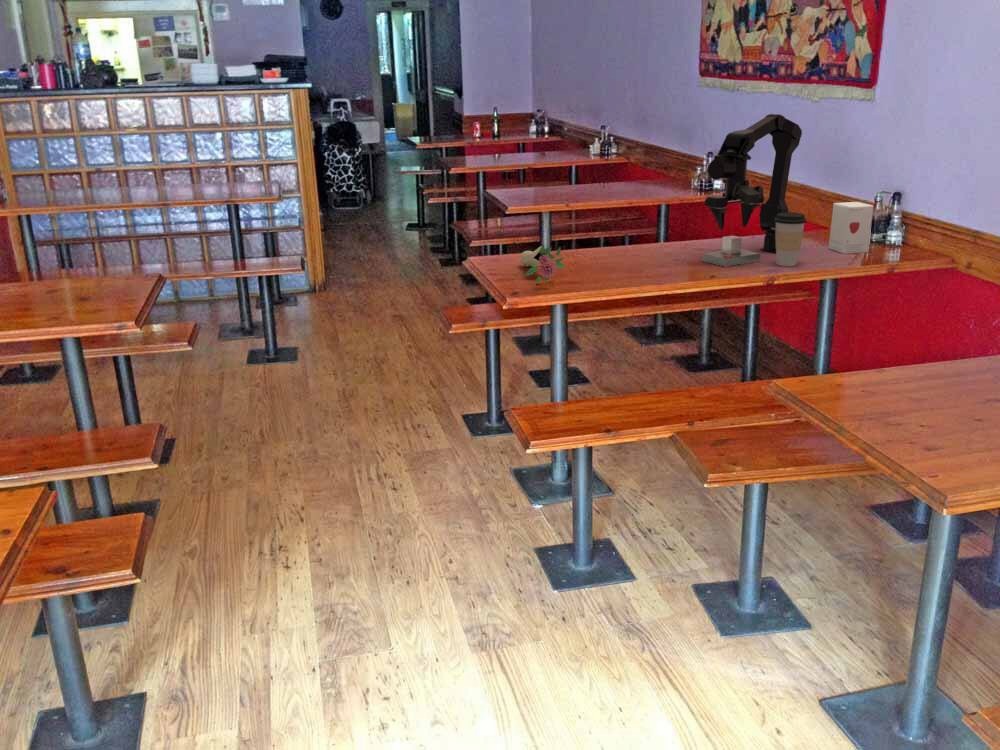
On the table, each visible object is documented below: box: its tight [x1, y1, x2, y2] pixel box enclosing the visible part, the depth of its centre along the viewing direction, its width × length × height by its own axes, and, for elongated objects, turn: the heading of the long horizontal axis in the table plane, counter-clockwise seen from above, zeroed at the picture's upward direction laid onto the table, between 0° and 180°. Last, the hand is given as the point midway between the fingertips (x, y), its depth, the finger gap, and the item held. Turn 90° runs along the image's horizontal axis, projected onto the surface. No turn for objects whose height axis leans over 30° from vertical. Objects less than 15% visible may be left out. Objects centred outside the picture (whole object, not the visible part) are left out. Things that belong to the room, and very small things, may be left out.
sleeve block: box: [701, 248, 761, 267], centre depth 286 cm, size 14×10×3 cm
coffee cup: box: [774, 212, 808, 267], centre depth 279 cm, size 9×9×15 cm
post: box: [721, 235, 743, 255], centre depth 285 cm, size 4×4×7 cm
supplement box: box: [828, 201, 874, 255], centre depth 296 cm, size 9×9×15 cm
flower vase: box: [519, 245, 566, 283], centre depth 268 cm, size 12×12×35 cm
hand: (733, 228), depth 283 cm, fingers open, 9 cm apart
